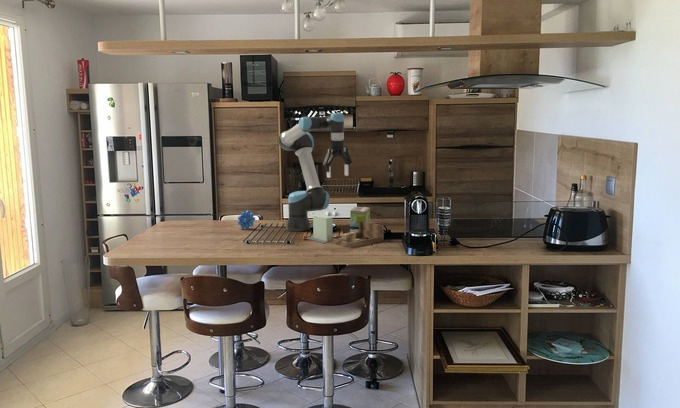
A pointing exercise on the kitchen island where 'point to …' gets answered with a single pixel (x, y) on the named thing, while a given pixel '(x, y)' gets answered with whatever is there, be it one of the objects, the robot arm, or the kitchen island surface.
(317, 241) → the mat
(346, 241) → the block
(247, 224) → the blue knobby thick disc
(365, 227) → the rack
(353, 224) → the tea box
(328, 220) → the tall block
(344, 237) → the offcut short
